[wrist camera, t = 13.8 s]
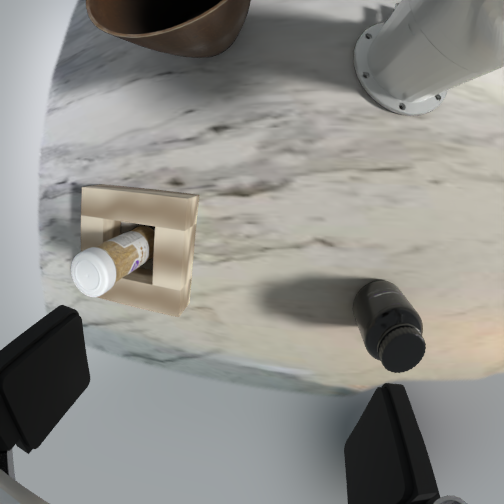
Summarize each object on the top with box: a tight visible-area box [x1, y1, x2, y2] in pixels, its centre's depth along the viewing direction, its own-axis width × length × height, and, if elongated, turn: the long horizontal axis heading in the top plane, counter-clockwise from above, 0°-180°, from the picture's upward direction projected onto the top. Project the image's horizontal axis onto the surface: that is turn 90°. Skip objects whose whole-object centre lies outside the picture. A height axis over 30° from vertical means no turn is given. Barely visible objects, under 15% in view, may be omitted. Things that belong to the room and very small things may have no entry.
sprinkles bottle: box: [71, 226, 155, 297], centre depth 32 cm, size 5×5×14 cm
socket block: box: [81, 184, 199, 317], centre depth 37 cm, size 14×14×4 cm
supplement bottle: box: [353, 280, 426, 373], centre depth 32 cm, size 7×7×12 cm
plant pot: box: [86, 0, 251, 58], centre depth 23 cm, size 15×15×16 cm
